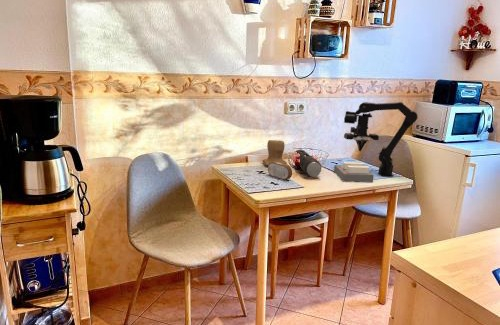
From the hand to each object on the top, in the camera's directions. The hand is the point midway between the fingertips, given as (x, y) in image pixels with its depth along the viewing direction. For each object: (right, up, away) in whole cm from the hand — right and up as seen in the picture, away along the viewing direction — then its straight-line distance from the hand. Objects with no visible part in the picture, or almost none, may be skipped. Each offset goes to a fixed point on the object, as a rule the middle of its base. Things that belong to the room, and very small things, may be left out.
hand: (359, 151), depth 218 cm
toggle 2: (-6, -12, -17) cm, 22 cm away
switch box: (-7, -14, -9) cm, 18 cm away
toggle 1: (-7, -10, -10) cm, 16 cm away
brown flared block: (-50, -8, +9) cm, 51 cm away
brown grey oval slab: (-48, -15, -18) cm, 54 cm away
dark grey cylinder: (-32, -12, -4) cm, 35 cm away
